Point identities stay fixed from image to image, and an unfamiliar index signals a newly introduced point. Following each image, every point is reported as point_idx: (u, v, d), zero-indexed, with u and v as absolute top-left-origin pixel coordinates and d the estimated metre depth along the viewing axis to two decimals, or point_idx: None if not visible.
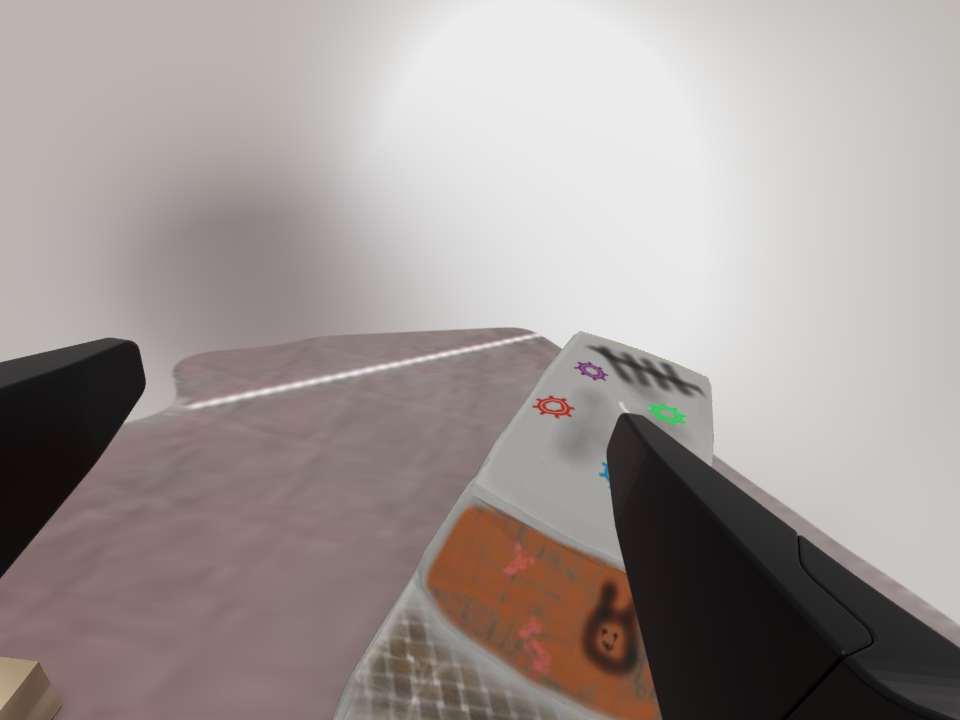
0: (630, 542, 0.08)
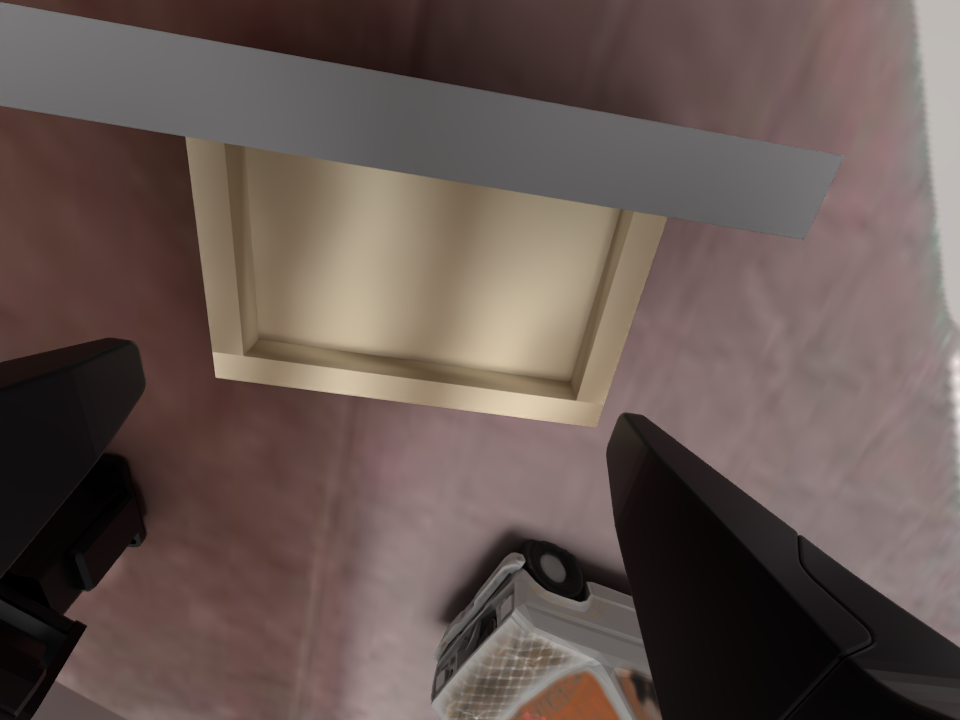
0: (630, 542, 0.08)
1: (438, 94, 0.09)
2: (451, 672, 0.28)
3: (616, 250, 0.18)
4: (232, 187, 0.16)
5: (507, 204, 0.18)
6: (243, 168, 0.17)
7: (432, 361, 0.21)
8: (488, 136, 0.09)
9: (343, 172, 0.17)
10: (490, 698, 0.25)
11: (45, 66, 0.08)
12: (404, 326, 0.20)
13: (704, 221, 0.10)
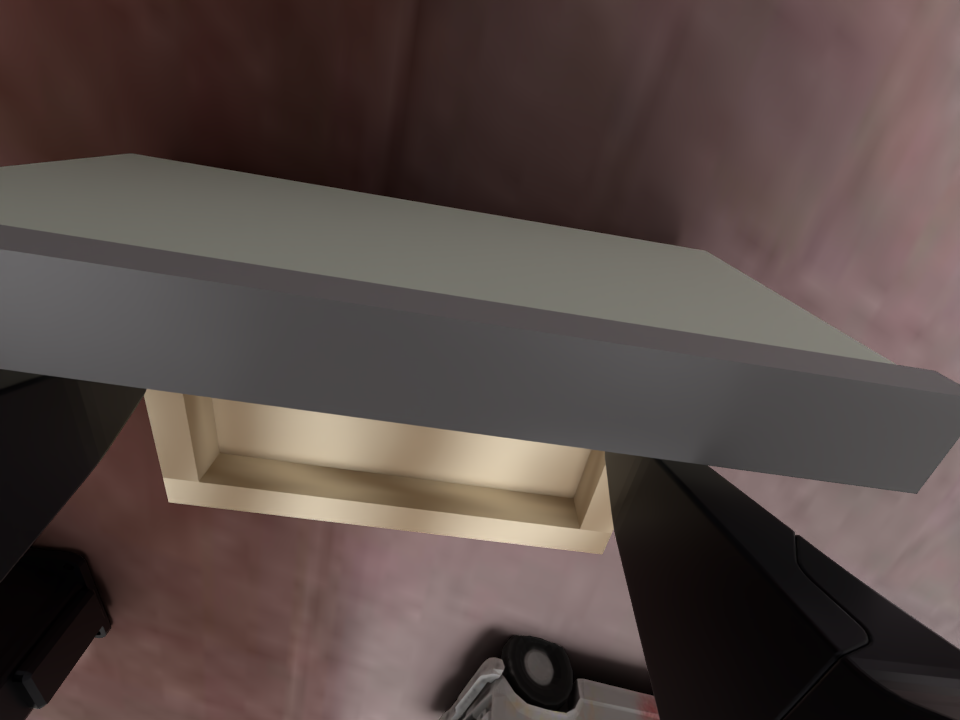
0: (628, 542, 0.08)
1: (392, 324, 0.06)
2: None
3: None
4: None
5: None
6: None
7: (417, 477, 0.18)
8: (467, 374, 0.06)
9: None
10: None
11: None
12: (384, 442, 0.18)
13: (777, 471, 0.07)
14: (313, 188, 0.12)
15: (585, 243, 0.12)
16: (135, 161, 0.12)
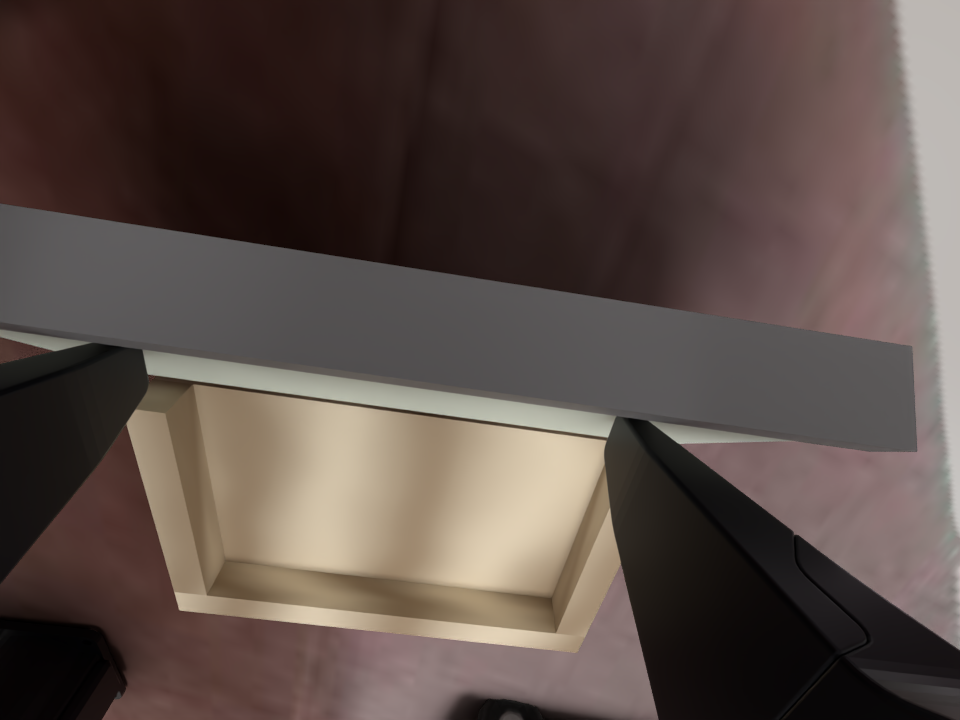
0: (627, 542, 0.08)
1: (412, 281, 0.07)
2: None
3: (597, 514, 0.16)
4: (183, 467, 0.15)
5: (480, 462, 0.16)
6: (197, 436, 0.16)
7: (406, 581, 0.20)
8: (476, 327, 0.07)
9: (304, 436, 0.16)
10: None
11: None
12: (376, 553, 0.19)
13: (778, 430, 0.07)
14: None
15: None
16: None
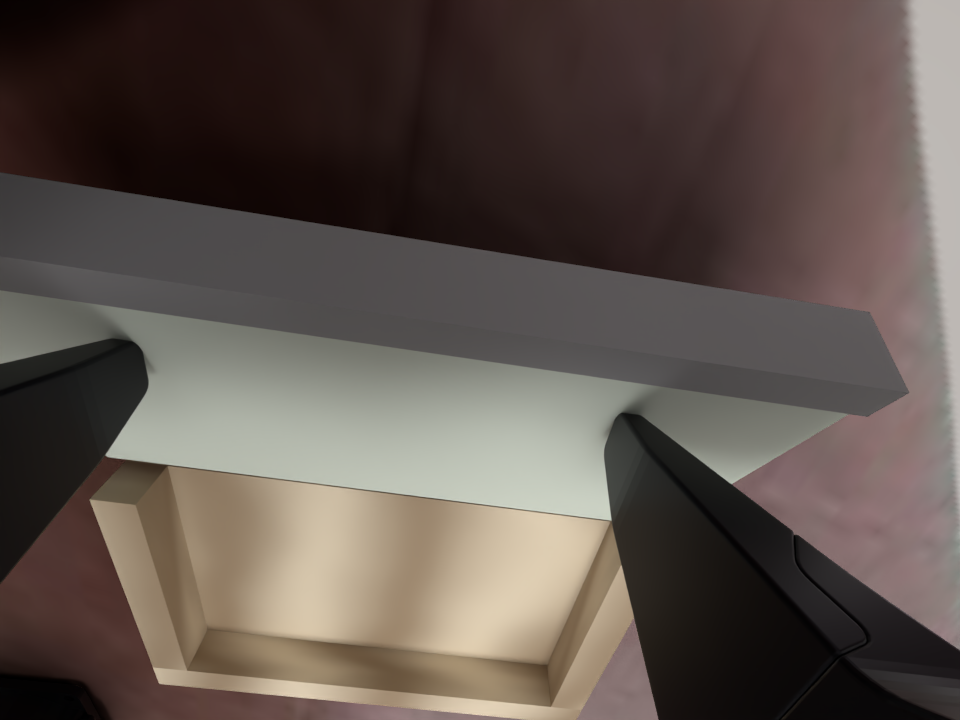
0: (627, 542, 0.08)
1: (422, 248, 0.08)
2: None
3: (593, 595, 0.16)
4: (158, 552, 0.14)
5: (471, 540, 0.16)
6: (173, 516, 0.15)
7: (396, 649, 0.19)
8: (480, 283, 0.07)
9: (286, 514, 0.15)
10: None
11: None
12: (363, 623, 0.18)
13: (775, 372, 0.07)
14: None
15: None
16: None
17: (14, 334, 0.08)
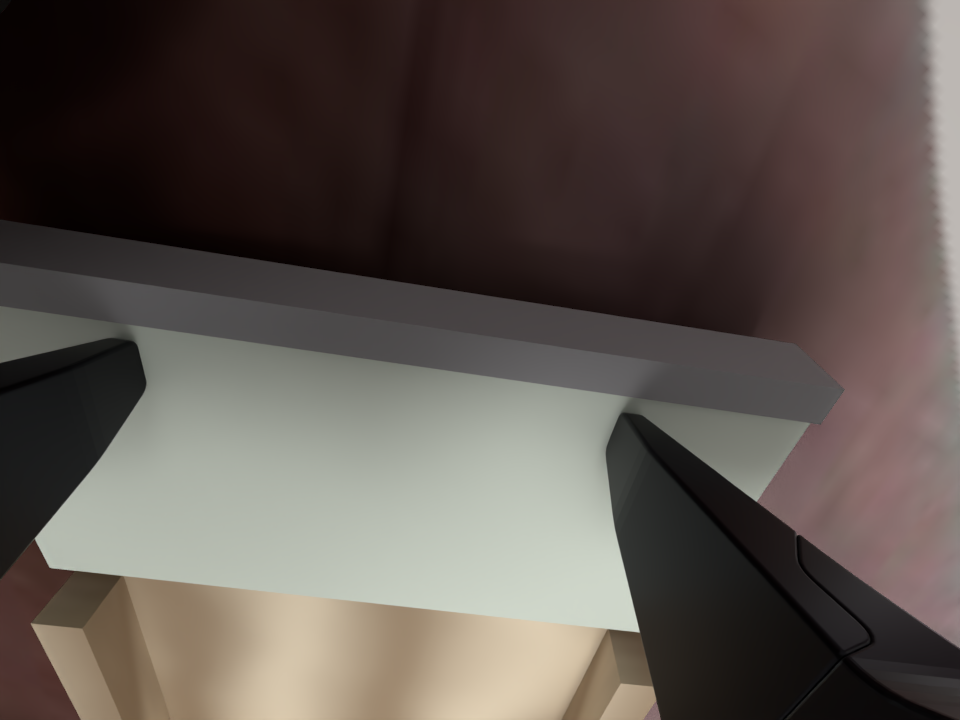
0: (629, 542, 0.08)
1: (420, 289, 0.09)
2: None
3: (590, 705, 0.14)
4: (111, 669, 0.13)
5: (457, 644, 0.14)
6: (130, 625, 0.14)
7: None
8: (470, 310, 0.09)
9: (255, 621, 0.14)
10: None
11: (13, 242, 0.08)
12: None
13: (728, 372, 0.08)
14: None
15: None
16: None
17: None
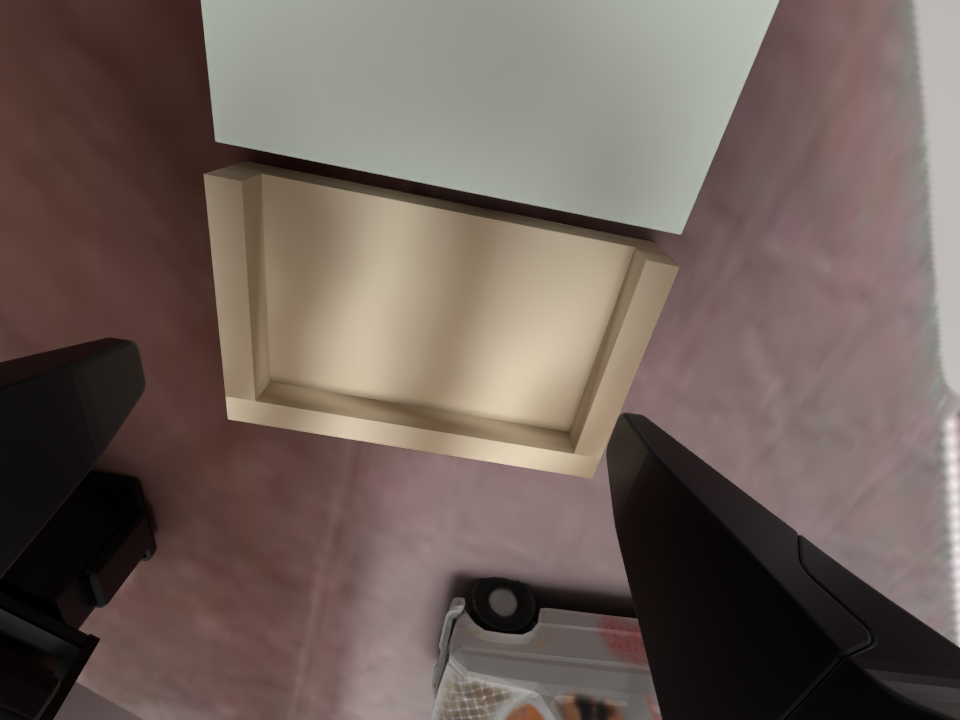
0: (630, 542, 0.08)
1: None
2: None
3: (618, 318, 0.18)
4: (249, 250, 0.17)
5: (514, 269, 0.18)
6: (260, 229, 0.17)
7: (436, 408, 0.21)
8: None
9: (356, 234, 0.18)
10: None
11: None
12: (410, 375, 0.21)
13: None
14: None
15: None
16: None
17: None
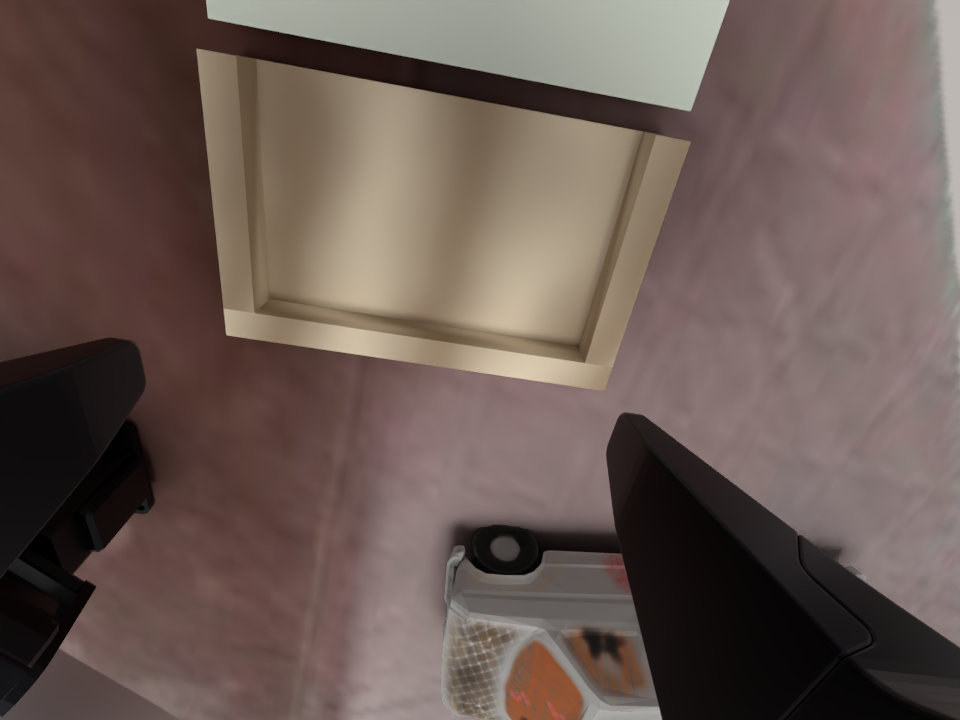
0: (630, 542, 0.08)
1: None
2: None
3: (627, 208, 0.18)
4: (245, 138, 0.16)
5: (519, 160, 0.18)
6: (256, 120, 0.17)
7: (441, 323, 0.21)
8: None
9: (356, 126, 0.17)
10: (475, 685, 0.27)
11: None
12: (414, 287, 0.20)
13: None
14: None
15: None
16: None
17: None
